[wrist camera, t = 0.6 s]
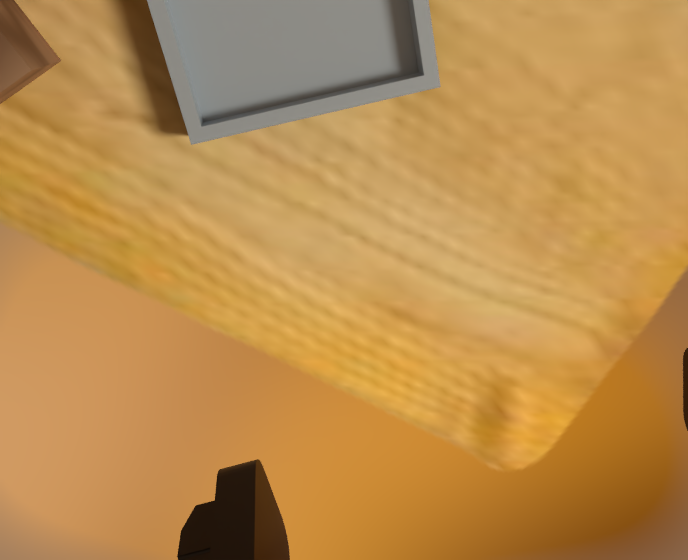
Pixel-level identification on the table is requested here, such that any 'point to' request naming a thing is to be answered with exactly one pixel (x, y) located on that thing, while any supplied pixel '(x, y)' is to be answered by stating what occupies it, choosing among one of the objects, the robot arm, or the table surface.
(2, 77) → the walnut block
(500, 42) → the table surface
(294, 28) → the tray
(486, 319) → the table surface
